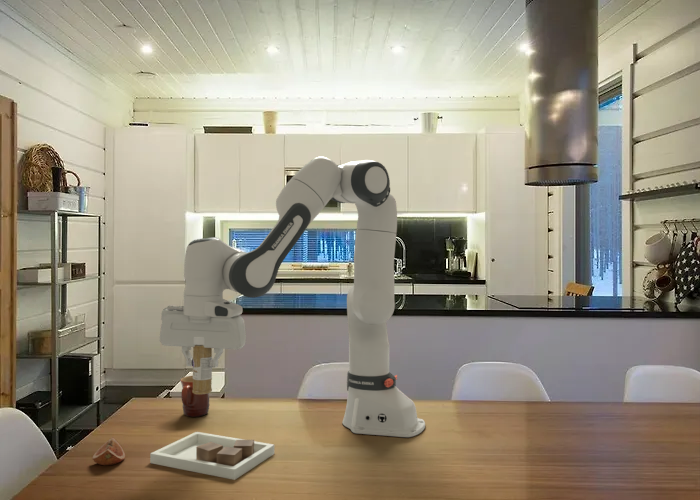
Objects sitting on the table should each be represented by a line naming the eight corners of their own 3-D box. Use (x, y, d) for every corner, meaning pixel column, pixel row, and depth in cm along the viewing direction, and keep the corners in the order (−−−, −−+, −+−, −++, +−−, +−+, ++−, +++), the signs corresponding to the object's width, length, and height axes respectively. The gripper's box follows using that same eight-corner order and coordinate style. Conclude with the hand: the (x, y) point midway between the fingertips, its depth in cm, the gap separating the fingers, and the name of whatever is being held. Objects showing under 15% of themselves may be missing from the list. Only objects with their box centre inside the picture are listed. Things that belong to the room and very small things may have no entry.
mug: (189, 408, 170) (189, 374, 170) (216, 410, 169) (216, 376, 169) (168, 421, 159) (168, 384, 159) (197, 423, 157) (198, 385, 157)
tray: (274, 457, 133) (274, 444, 133) (234, 483, 118) (234, 469, 118) (196, 443, 141) (196, 431, 141) (150, 466, 127) (150, 453, 127)
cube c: (254, 457, 130) (254, 439, 130) (251, 464, 126) (251, 445, 126) (236, 457, 130) (236, 439, 130) (233, 464, 126) (233, 445, 126)
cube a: (242, 466, 125) (242, 448, 125) (234, 474, 121) (234, 455, 121) (225, 465, 126) (225, 446, 126) (216, 472, 122) (216, 453, 122)
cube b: (222, 463, 126) (222, 445, 126) (208, 469, 123) (208, 450, 123) (210, 459, 129) (210, 441, 129) (196, 465, 126) (196, 446, 125)
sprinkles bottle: (189, 391, 135) (189, 334, 134) (208, 388, 137) (208, 332, 137) (196, 396, 131) (196, 337, 131) (215, 393, 134) (215, 335, 133)
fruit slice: (122, 471, 124) (122, 448, 124) (88, 474, 122) (88, 450, 122) (127, 457, 132) (127, 435, 132) (95, 459, 131) (95, 437, 130)
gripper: (155, 306, 133) (154, 366, 133) (239, 310, 129) (237, 371, 129) (168, 304, 139) (167, 361, 139) (249, 307, 135) (248, 366, 135)
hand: (202, 366), depth 134 cm, fingers closed on sprinkles bottle, 4 cm apart
